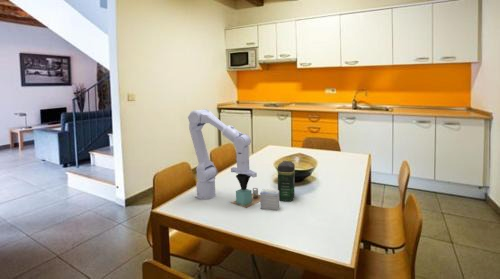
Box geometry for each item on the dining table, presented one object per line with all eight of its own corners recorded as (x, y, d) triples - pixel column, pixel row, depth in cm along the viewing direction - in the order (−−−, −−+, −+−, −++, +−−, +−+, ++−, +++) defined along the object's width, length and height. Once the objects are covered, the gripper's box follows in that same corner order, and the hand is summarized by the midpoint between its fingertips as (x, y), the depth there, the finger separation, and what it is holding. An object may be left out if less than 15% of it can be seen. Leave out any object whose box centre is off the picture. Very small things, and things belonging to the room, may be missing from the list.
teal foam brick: (236, 203, 141) (235, 191, 140) (243, 199, 145) (243, 187, 143) (244, 205, 137) (243, 193, 136) (251, 202, 141) (251, 190, 140)
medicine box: (279, 208, 136) (279, 189, 134) (277, 212, 132) (277, 193, 130) (262, 206, 138) (262, 188, 136) (260, 210, 134) (260, 192, 132)
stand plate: (230, 204, 142) (230, 202, 141) (253, 194, 153) (253, 193, 153) (246, 209, 135) (246, 208, 135) (268, 199, 147) (268, 197, 146)
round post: (251, 197, 147) (251, 189, 146) (255, 196, 149) (255, 187, 148) (255, 199, 145) (255, 190, 144) (259, 197, 147) (259, 188, 146)
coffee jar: (293, 203, 140) (293, 165, 137) (276, 202, 142) (275, 164, 139) (295, 196, 149) (295, 160, 146) (280, 195, 151) (279, 159, 148)
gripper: (225, 160, 139) (226, 188, 142) (248, 165, 130) (249, 195, 132) (236, 157, 144) (237, 184, 147) (259, 161, 135) (260, 190, 137)
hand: (243, 189), depth 140 cm, fingers closed
